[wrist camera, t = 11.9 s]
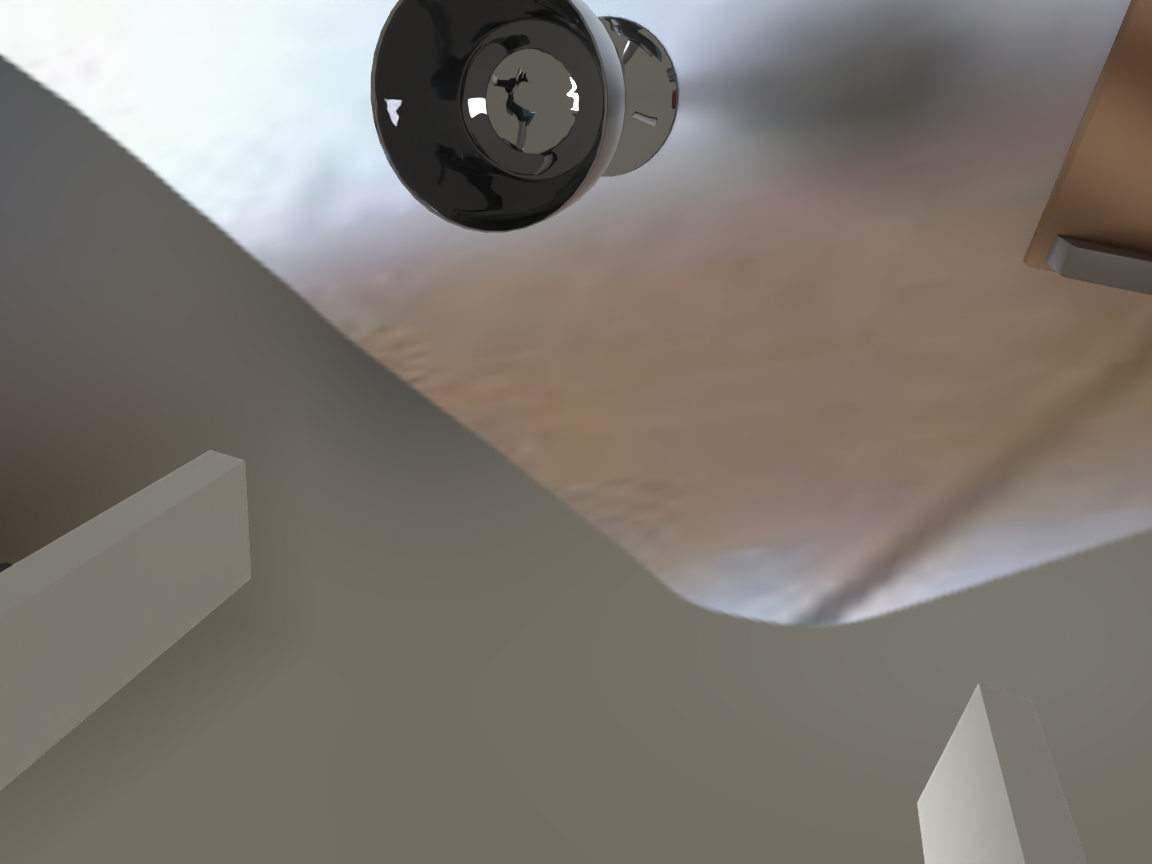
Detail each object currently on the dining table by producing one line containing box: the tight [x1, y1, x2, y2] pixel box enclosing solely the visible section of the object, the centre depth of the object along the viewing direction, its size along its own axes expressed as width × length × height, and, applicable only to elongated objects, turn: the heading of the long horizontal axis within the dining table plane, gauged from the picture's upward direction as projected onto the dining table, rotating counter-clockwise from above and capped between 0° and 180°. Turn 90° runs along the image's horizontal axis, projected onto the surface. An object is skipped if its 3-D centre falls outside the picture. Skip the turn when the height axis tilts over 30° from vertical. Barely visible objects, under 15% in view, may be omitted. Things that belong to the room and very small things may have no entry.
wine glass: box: [371, 0, 677, 232], centre depth 31 cm, size 8×8×15 cm
